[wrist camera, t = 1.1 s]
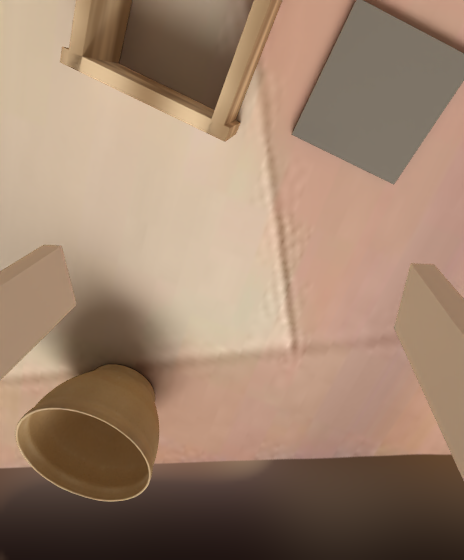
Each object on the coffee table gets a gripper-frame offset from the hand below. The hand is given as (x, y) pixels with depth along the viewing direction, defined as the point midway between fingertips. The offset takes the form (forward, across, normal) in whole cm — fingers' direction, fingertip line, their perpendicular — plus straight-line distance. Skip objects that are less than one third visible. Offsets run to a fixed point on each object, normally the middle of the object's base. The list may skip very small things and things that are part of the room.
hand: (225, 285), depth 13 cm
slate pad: (+22, +9, +6) cm, 24 cm away
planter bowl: (+22, -19, -30) cm, 41 cm away
